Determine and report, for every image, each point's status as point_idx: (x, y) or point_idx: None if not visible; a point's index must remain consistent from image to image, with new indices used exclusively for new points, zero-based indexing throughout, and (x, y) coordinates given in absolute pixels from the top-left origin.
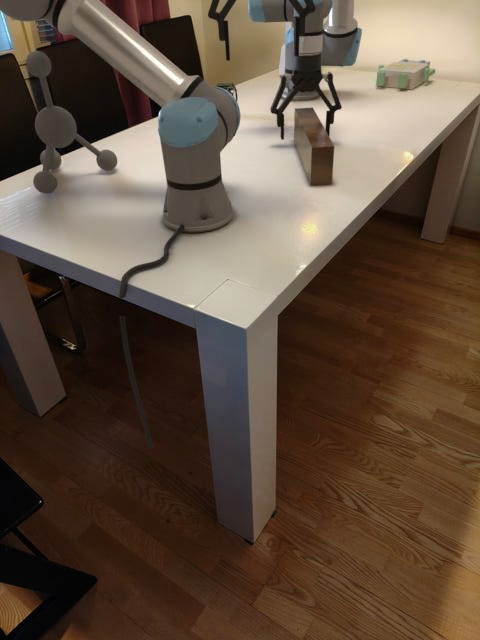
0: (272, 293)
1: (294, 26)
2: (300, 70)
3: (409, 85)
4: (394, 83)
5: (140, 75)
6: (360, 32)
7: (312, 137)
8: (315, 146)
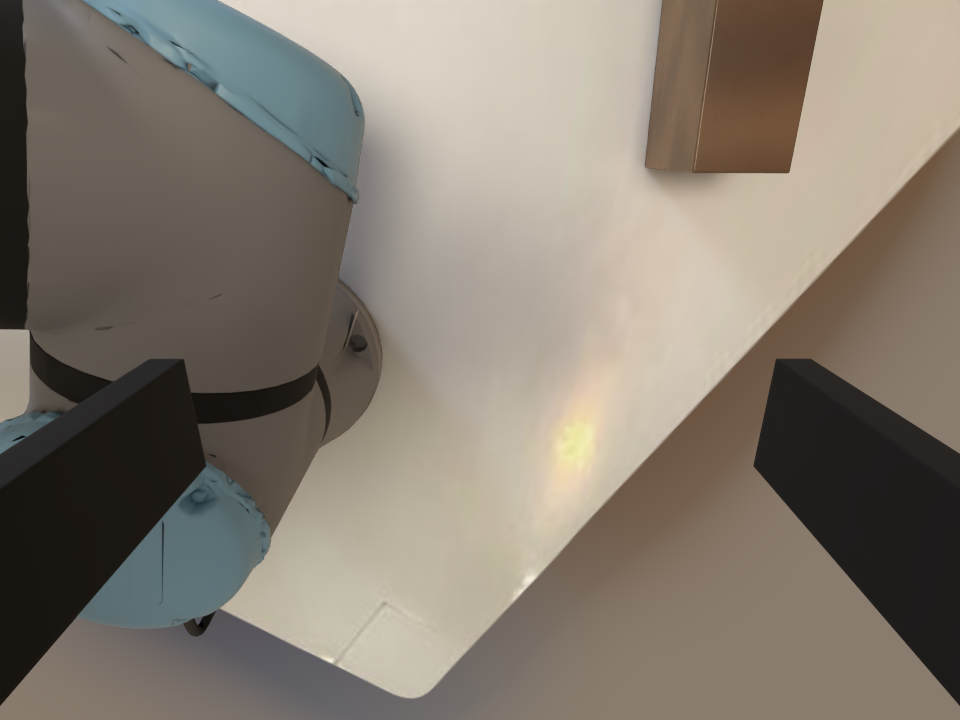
0: (463, 643)
1: (942, 550)
2: None
3: None
4: None
5: None
6: None
7: (738, 19)
8: (711, 161)
